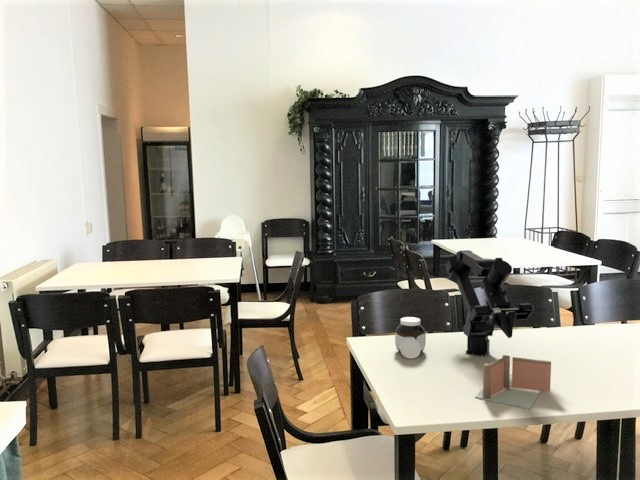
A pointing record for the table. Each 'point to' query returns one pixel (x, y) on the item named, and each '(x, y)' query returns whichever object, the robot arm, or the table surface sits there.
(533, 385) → the swing panel
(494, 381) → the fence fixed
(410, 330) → the spread jar
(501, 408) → the table surface
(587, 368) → the table surface
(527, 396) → the mat
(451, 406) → the table surface
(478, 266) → the robot arm
